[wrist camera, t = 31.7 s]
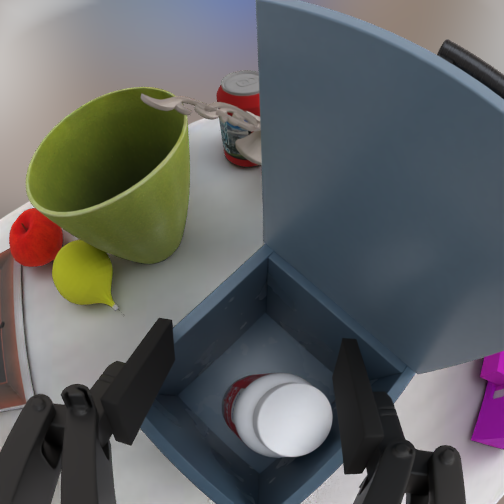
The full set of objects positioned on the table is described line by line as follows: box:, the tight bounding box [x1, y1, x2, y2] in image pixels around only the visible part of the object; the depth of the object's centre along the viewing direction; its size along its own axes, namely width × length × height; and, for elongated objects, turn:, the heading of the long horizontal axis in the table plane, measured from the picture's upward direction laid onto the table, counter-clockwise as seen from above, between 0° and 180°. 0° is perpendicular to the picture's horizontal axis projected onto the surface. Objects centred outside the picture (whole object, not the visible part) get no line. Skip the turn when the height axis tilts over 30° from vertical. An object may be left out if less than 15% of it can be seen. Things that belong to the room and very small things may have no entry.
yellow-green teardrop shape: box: [52, 240, 125, 316], centre depth 30 cm, size 7×7×10 cm
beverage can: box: [217, 71, 260, 167], centre depth 36 cm, size 7×7×12 cm
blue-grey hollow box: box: [140, 243, 416, 504], centre depth 21 cm, size 14×13×13 cm
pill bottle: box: [222, 373, 333, 458], centre depth 20 cm, size 6×6×11 cm
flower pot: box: [26, 87, 190, 264], centre depth 28 cm, size 15×15×16 cm
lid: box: [256, 0, 504, 374], centre depth 12 cm, size 14×13×9 cm
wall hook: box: [141, 94, 262, 165], centre depth 31 cm, size 5×30×4 cm
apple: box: [9, 208, 63, 267], centre depth 32 cm, size 8×8×7 cm
